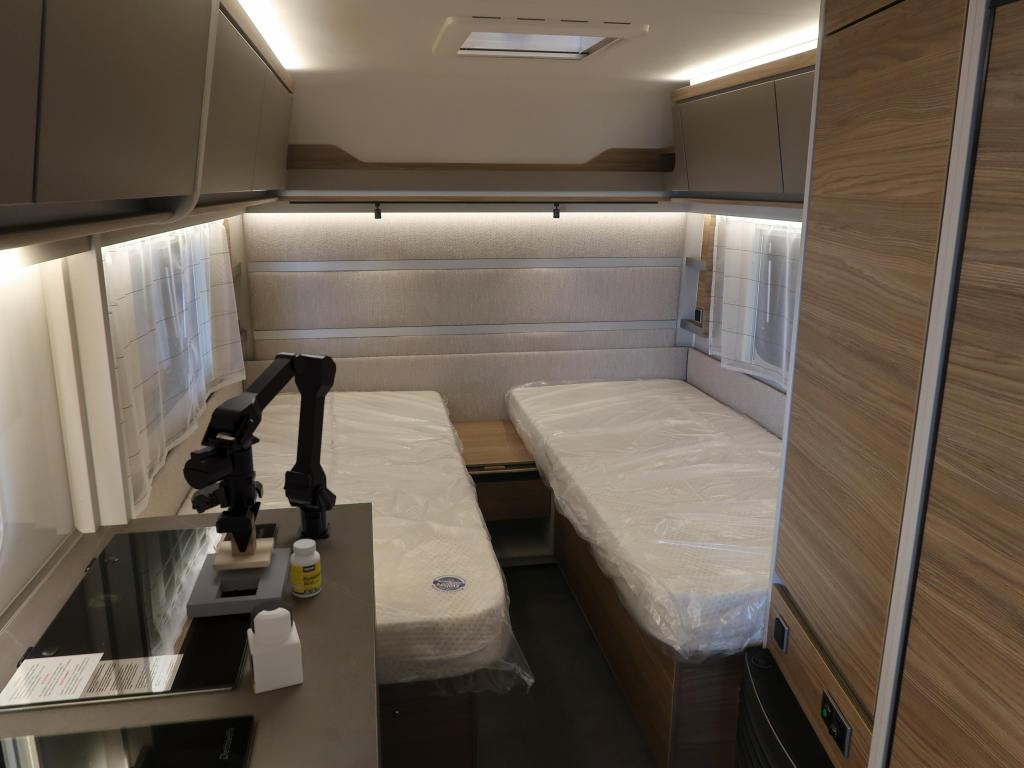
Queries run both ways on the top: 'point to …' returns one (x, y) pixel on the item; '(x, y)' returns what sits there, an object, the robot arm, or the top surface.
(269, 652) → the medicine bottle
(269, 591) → the board
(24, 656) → the top surface
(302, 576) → the supplement bottle
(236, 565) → the lid
